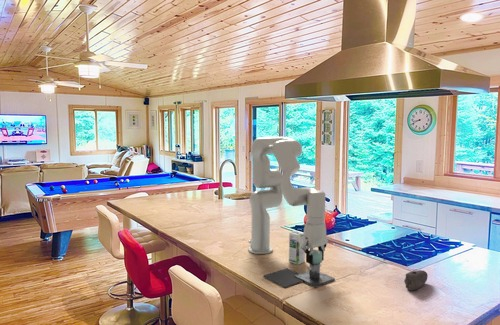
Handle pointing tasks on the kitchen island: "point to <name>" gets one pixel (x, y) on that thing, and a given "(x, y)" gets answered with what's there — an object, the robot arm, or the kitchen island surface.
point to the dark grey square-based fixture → (314, 276)
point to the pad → (283, 277)
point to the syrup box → (296, 248)
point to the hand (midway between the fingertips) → (314, 261)
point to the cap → (317, 256)
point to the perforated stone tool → (415, 279)
